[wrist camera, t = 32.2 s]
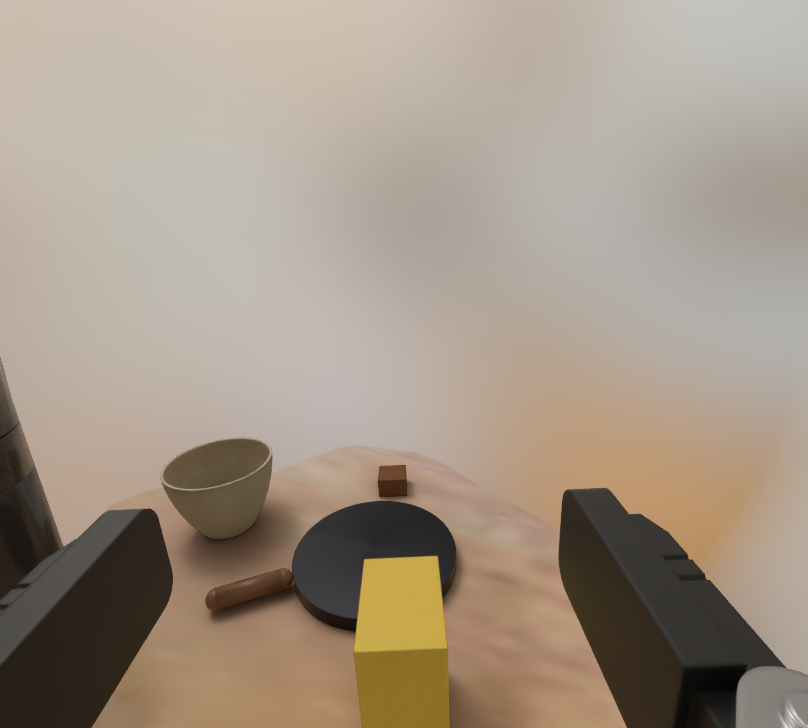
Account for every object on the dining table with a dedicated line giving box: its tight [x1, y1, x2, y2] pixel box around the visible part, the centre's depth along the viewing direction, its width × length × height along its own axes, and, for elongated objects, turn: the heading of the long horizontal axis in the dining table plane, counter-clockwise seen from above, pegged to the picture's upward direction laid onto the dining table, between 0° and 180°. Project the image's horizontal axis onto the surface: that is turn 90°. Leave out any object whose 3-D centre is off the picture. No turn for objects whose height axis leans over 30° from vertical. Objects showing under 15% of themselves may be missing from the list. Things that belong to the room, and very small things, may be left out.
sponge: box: [354, 556, 450, 728], centre depth 25 cm, size 4×6×9 cm
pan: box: [205, 501, 456, 631], centre depth 37 cm, size 21×14×2 cm
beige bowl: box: [160, 437, 272, 539], centre depth 43 cm, size 10×10×7 cm
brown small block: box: [378, 465, 407, 496], centre depth 48 cm, size 3×3×2 cm
